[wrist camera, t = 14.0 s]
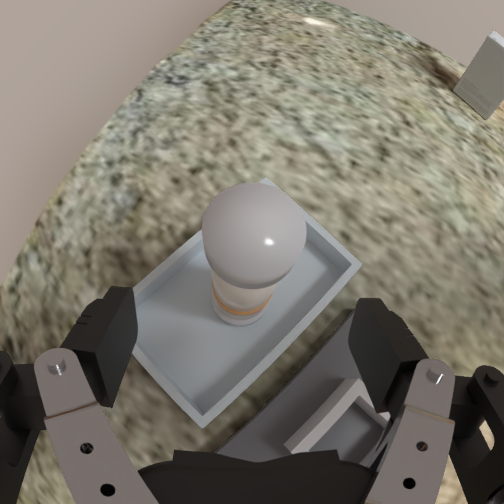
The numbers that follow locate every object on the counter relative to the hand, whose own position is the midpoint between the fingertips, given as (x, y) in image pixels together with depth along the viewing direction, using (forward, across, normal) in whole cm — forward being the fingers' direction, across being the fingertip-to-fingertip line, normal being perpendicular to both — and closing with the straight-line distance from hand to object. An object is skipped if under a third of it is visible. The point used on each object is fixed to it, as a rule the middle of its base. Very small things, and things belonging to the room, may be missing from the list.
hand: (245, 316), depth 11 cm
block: (+4, -8, +14) cm, 16 cm away
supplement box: (+35, -37, -16) cm, 53 cm away
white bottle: (+11, 0, +6) cm, 12 cm away
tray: (+11, 0, +6) cm, 13 cm away
